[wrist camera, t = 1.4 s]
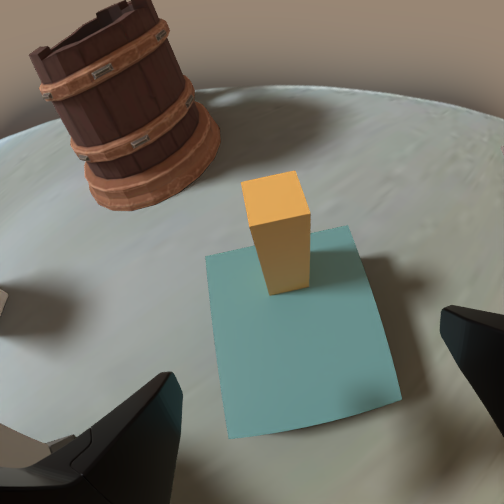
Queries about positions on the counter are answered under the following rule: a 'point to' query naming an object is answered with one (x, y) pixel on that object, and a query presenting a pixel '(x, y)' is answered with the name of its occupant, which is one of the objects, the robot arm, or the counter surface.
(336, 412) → the lid
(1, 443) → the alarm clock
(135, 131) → the mug
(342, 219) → the counter surface
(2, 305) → the milk
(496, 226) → the counter surface
